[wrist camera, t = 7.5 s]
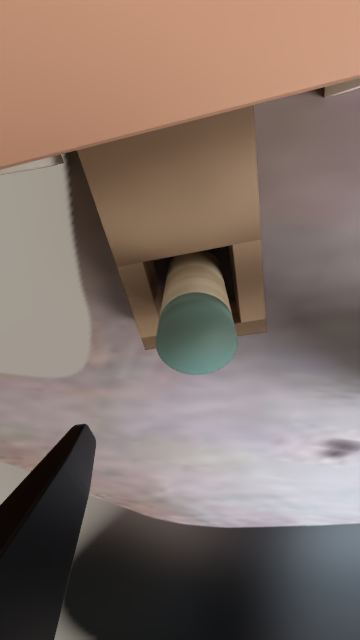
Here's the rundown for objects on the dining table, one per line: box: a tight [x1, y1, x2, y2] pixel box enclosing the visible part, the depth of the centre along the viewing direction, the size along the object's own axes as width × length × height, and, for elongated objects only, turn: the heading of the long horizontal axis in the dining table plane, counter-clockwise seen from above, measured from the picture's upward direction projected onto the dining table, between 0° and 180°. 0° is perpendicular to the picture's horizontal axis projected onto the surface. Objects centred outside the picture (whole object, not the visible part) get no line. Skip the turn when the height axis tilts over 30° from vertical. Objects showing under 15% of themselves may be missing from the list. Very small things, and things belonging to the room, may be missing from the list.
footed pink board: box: [0, 0, 360, 175], centre depth 9 cm, size 6×17×10 cm, turn 102°
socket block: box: [77, 105, 267, 350], centre depth 16 cm, size 16×8×3 cm, turn 12°
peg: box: [156, 250, 238, 375], centre depth 16 cm, size 4×4×8 cm
